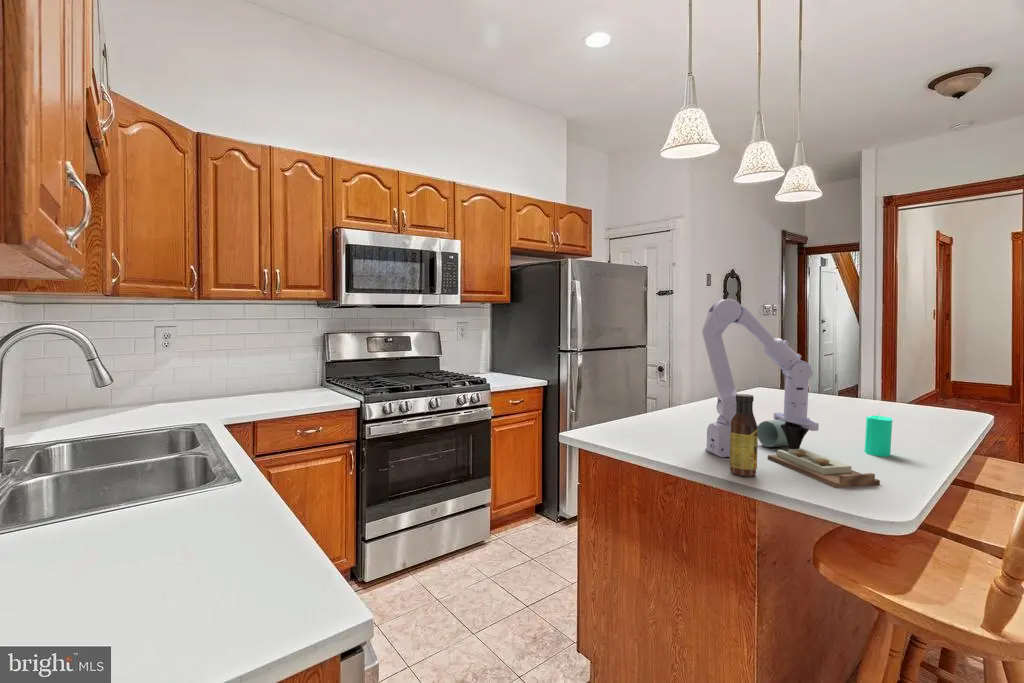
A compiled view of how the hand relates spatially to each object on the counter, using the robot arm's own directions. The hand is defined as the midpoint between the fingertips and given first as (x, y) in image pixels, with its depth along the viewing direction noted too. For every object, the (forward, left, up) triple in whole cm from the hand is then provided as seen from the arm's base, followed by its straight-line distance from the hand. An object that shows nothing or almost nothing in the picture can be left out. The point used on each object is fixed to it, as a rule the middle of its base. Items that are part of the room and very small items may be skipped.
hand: (793, 450), depth 141 cm
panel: (-3, -9, -1) cm, 10 cm away
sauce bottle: (-24, -10, -2) cm, 26 cm away
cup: (+9, +12, +2) cm, 15 cm away
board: (-3, -12, -2) cm, 12 cm away
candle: (+26, -1, -2) cm, 27 cm away
